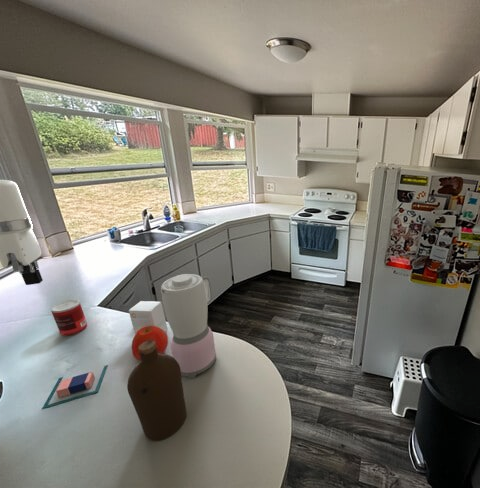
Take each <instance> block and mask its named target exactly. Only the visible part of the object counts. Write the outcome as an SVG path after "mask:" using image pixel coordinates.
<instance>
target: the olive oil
mask: <svg viewBox="0 0 480 488" xmlns="http://www.w3.org/2000/svg"><path fill="white" fill-rule="evenodd" d="M138 349H139V351H140V352H139V355H140V358H141V361H139V362H138V363H137V364H136V365H135V366H134V368H133V369H132V370H131V372H130V373H129V376H128V380H127V385H126V388H127V389H126V390H127V393H128V396H129V398H130V400H131V403H132V405H133V407H134V411H136V412H135V413H136V415H137V417H138V420H139V422H140V425H141V428H142V430H143V433H144V436H145V437H146V438H147V439H148V440H150V441H153V442H158V441H163V440H165V439H168V438H170V437H171V436H172V435H174V434H175V433H177V432H178V430H180V429H181V428H182V426H183V425H184V423H185V421H186V419H187V407H186V401H185V393H184V386H183V378H182V375H181V369H180V366H179V364H178V362H177V361H176V360H175V359H174V358H173V355H172V356H171V355H170V354H167V353H166V354H165V353H163V354H159V353H158V350H157V346H156V344H155V342H154V341H146V342H144V343H142V344H141V345H140V346H139V348H138Z"/></svg>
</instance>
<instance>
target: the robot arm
mask: <svg viewBox="0 0 480 488" xmlns="http://www.w3.org/2000/svg"><path fill="white" fill-rule="evenodd" d="M18 186H19V185H18V184H17V183H16V182H15V181H13V180H9V179H0V265H1V267H2V268H4V269H8V268H10V267H11V268H12V270H13V271H12V272H14V273H19V274H20V275H21V277H22V279H23V282H24V284H25V285H26V286H31V285H37V284H41V283H42V282H43V281H44V279H43V277H42V274H41V272H40V269H39V268H40V267H39V264H38V263H39V262H38V261H39V259H40V257H41V256H42V253H43V252H42V249H41V246H40V243H39V241H38V238H37V237H36V235H35V232H34V230H33V229H34V227H33V224H32V223H33V222H32V221H31V218H30V215H29V213H28V210H27V208H26V205H25V201H24V200H23V197H22V194H21V191H20V189H19V187H18Z"/></svg>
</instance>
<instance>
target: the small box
mask: <svg viewBox="0 0 480 488" xmlns="http://www.w3.org/2000/svg"><path fill="white" fill-rule="evenodd" d="M128 313H129V317H130V321H131V324H132V329H133V331H134V332H133V333H134V335H135V334H136V333H137V331H138V330H140V329H141V328H143V327H146V326H152V325H153V326H156V327H159V328H161V329H162V330H163V331H165V332H166V333H167V331H168V325H167V319H166V315H165V311H164V306H163V302H162V301H152V300H151V301H150V300H149V301H148V300H140V301H139V302H138V303H136V304H135V305H134V306H132V307H130V309H129V310H128Z"/></svg>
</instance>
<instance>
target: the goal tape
mask: <svg viewBox="0 0 480 488" xmlns="http://www.w3.org/2000/svg"><path fill="white" fill-rule="evenodd" d="M107 368H108V364H106V365H104V366H103V368H102V371H101V374H100V375H99V379H98V382H97V384H96V386H95V389H94V390H93V391H90V392H86V393H82V394H79V395H76V396H72V397H69V398H66V399H61V400H59V401H55V402H52V403H50V402H51V400H52V399H53V397H54V394H55V393H56V390H57V388H58V386H59V383H61V381H62V380H63V378H64V377H59V378H58V379H57V381H56V383H55V385H54V386H53V388H52V390H51V392H50V393H49V394H48V397H47V399H46V401H45V402H44V404H43V406H42V408H41V410H43V409H48V408H51V407H54V406H57V405H60V404H64V403H67V402H70V401H74V400H77V399H80V398H83V397H88V396H91V395H94V394H97V393H99V390H100V388H101V385H102V382H103V379H104V377H105V374H106V371H107Z"/></svg>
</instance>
